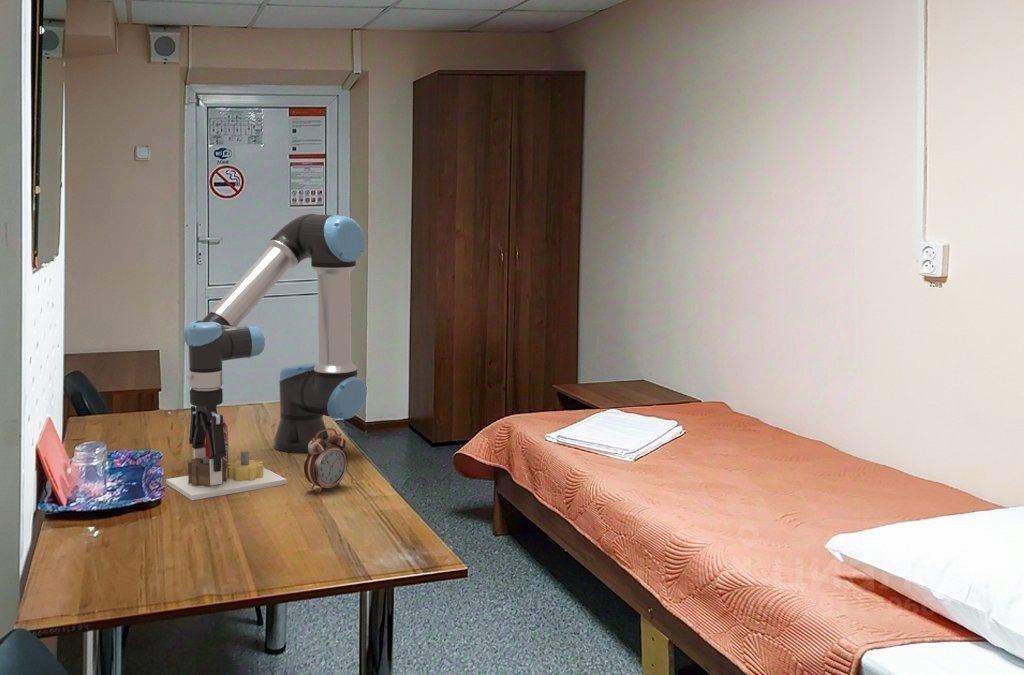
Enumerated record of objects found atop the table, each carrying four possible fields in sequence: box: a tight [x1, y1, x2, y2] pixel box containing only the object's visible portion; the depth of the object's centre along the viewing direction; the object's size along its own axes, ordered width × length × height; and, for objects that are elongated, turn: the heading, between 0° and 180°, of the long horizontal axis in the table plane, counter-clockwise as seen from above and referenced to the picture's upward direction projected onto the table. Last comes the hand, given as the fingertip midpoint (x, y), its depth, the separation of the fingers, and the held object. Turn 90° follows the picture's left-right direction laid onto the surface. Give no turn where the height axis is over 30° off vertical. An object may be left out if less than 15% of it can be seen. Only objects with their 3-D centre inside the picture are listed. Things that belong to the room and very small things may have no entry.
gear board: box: [165, 451, 288, 501], centre depth 260 cm, size 24×16×7 cm, turn 128°
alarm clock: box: [303, 427, 349, 494], centre depth 258 cm, size 11×5×15 cm, turn 141°
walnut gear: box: [187, 457, 227, 487], centre depth 257 cm, size 9×9×5 cm
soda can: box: [202, 418, 229, 465], centre depth 276 cm, size 7×7×12 cm
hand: (207, 479), depth 258 cm, fingers open, 9 cm apart
